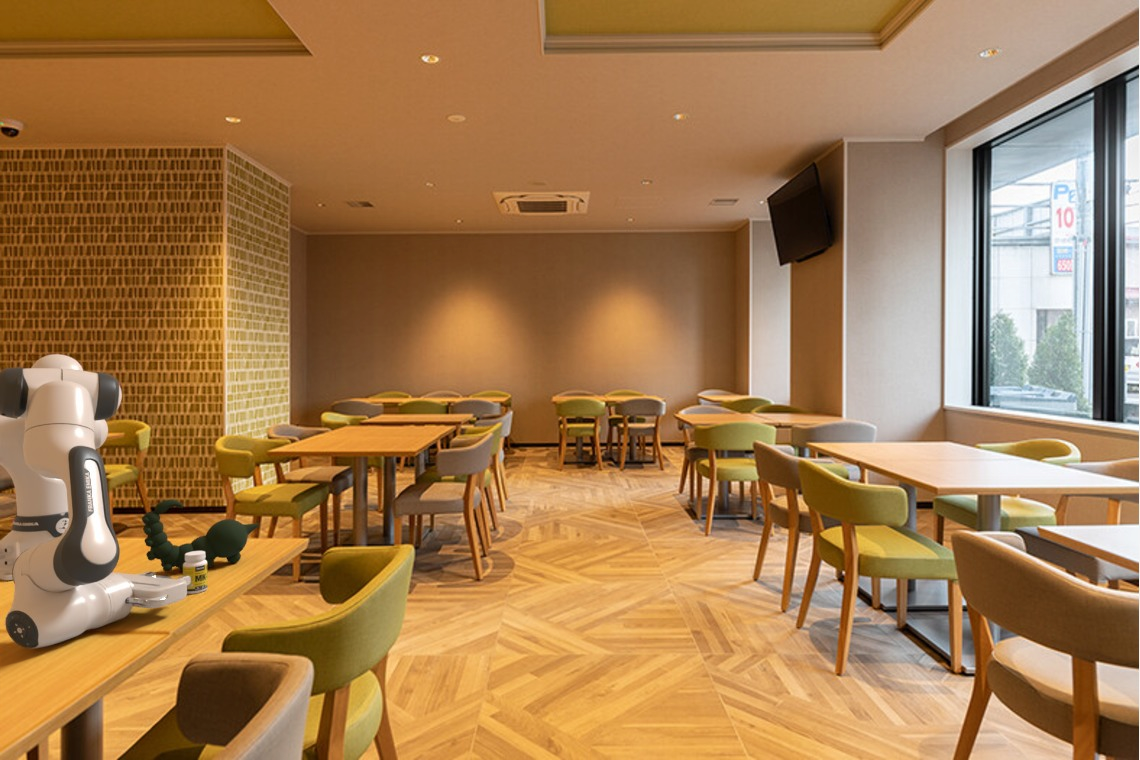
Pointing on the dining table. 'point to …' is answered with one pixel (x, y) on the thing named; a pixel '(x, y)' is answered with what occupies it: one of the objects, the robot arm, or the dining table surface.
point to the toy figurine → (218, 541)
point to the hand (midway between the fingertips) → (170, 577)
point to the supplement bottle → (196, 571)
